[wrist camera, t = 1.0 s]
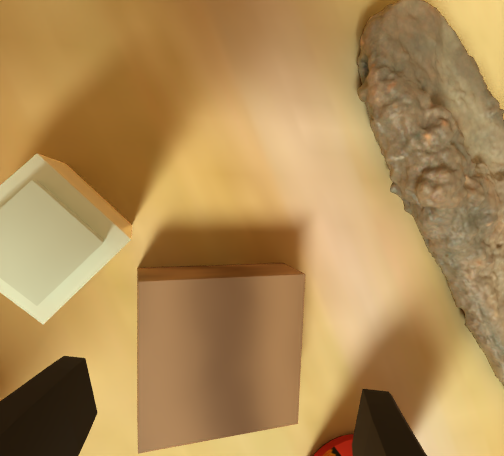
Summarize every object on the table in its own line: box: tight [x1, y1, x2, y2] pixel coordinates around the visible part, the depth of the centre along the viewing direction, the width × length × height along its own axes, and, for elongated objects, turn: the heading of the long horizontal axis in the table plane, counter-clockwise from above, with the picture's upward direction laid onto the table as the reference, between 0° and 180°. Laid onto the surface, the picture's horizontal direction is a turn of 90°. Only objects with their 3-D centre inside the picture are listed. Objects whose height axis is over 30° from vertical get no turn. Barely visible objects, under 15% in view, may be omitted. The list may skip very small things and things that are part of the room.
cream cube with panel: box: [0, 153, 132, 324], centre depth 16 cm, size 5×5×7 cm
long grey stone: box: [357, 0, 504, 385], centre depth 26 cm, size 35×5×10 cm
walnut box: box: [137, 263, 305, 453], centre depth 21 cm, size 9×9×4 cm
